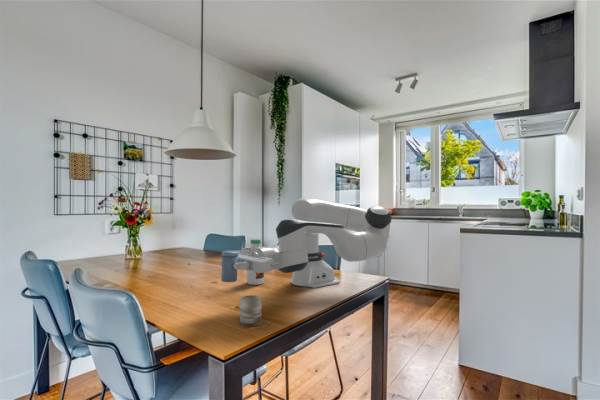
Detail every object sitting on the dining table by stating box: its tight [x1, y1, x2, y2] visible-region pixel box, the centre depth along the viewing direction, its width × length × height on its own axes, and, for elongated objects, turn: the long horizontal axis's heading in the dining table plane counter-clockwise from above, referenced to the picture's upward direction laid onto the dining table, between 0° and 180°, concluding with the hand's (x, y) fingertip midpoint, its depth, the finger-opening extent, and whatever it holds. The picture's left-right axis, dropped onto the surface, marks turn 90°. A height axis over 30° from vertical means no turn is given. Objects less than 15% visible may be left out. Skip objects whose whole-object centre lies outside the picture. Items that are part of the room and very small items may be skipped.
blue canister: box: [220, 250, 239, 283], centre depth 97 cm, size 5×5×9 cm
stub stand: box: [238, 294, 264, 329], centre depth 93 cm, size 7×7×7 cm
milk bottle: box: [246, 238, 265, 286], centre depth 140 cm, size 8×8×20 cm
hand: (227, 264), depth 96 cm, fingers closed on blue canister, 5 cm apart
